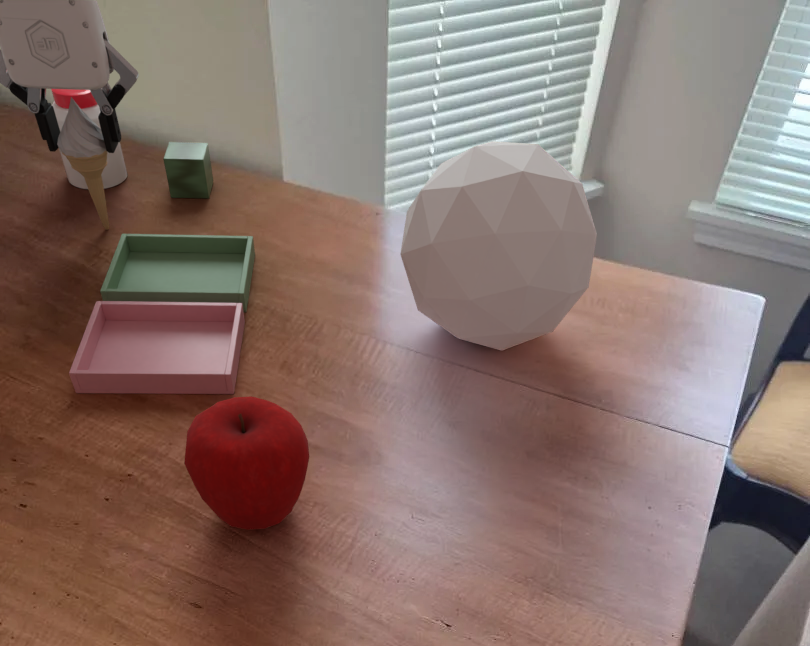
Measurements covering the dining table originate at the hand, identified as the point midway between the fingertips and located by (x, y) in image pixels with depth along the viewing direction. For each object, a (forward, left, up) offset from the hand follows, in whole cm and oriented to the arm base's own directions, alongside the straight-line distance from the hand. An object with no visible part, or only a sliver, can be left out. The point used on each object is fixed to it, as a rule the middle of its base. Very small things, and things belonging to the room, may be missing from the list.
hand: (84, 145), depth 85 cm
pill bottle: (-4, +14, -10) cm, 18 cm away
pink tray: (+11, -26, -10) cm, 29 cm away
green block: (+9, +11, -10) cm, 17 cm away
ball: (+45, -20, -10) cm, 50 cm away
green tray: (+11, -12, -10) cm, 19 cm away
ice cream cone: (0, 0, -10) cm, 10 cm away
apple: (+22, -47, -10) cm, 53 cm away
